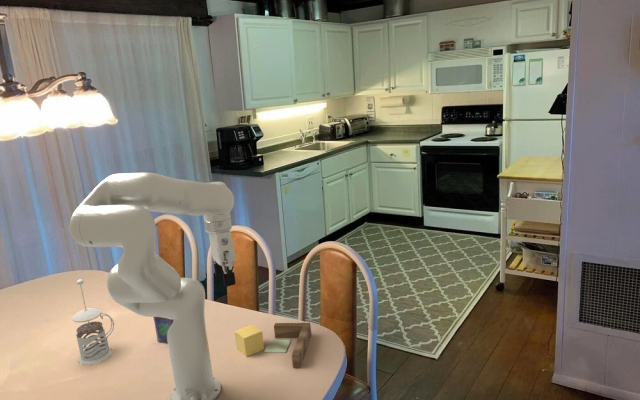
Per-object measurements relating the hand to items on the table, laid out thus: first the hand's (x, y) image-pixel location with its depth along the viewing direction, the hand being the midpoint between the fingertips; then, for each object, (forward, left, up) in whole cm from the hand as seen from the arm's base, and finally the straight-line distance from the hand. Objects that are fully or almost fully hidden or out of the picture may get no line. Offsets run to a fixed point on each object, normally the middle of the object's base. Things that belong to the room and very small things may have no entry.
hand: (225, 280), depth 145 cm
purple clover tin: (+11, +18, -21) cm, 30 cm away
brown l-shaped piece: (-12, -13, -21) cm, 27 cm away
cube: (-6, -4, -21) cm, 22 cm away
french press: (+14, +39, -21) cm, 46 cm away
